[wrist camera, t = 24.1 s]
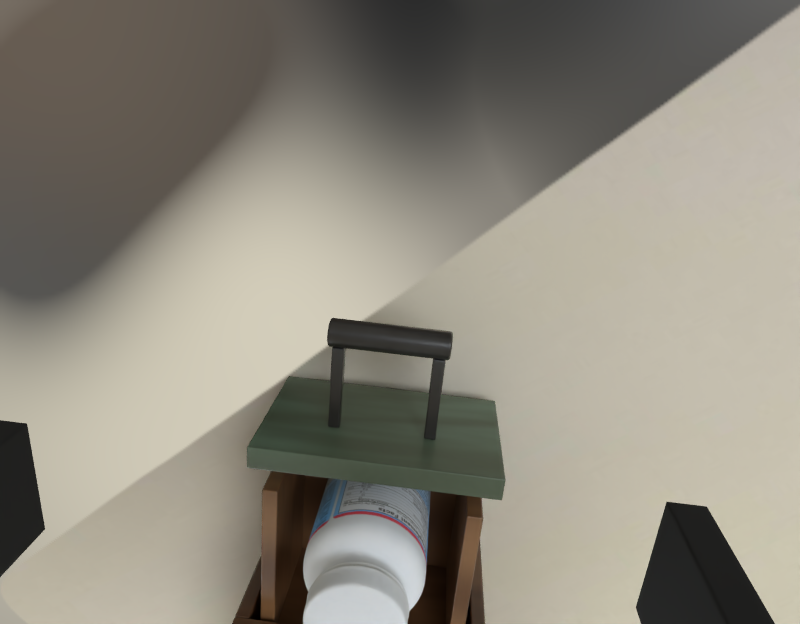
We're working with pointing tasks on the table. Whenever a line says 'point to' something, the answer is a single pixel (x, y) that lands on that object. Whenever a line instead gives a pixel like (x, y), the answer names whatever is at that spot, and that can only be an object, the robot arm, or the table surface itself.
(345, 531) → the pill bottle
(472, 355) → the table surface
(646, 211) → the table surface
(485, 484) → the drawer
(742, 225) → the table surface
